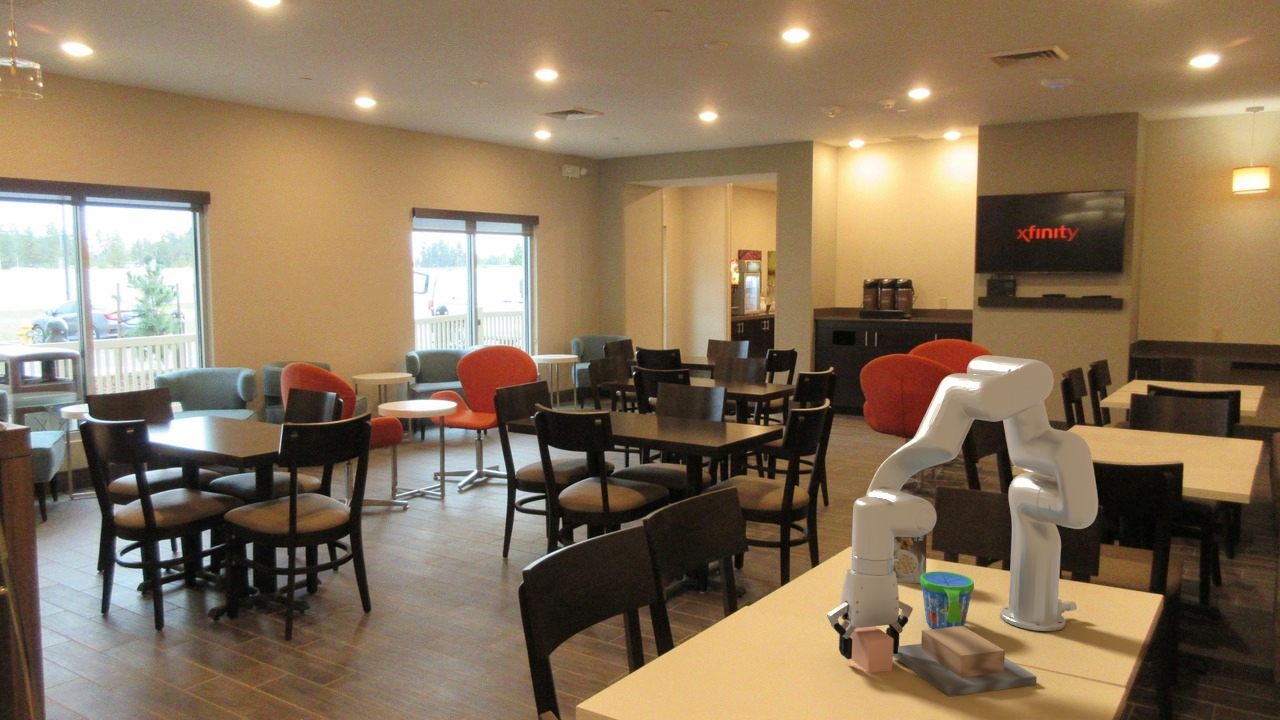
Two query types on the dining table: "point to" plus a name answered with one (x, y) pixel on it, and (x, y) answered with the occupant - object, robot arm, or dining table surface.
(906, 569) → the coffee box
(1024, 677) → the base
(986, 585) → the dining table surface
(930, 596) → the snack cup
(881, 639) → the brick
